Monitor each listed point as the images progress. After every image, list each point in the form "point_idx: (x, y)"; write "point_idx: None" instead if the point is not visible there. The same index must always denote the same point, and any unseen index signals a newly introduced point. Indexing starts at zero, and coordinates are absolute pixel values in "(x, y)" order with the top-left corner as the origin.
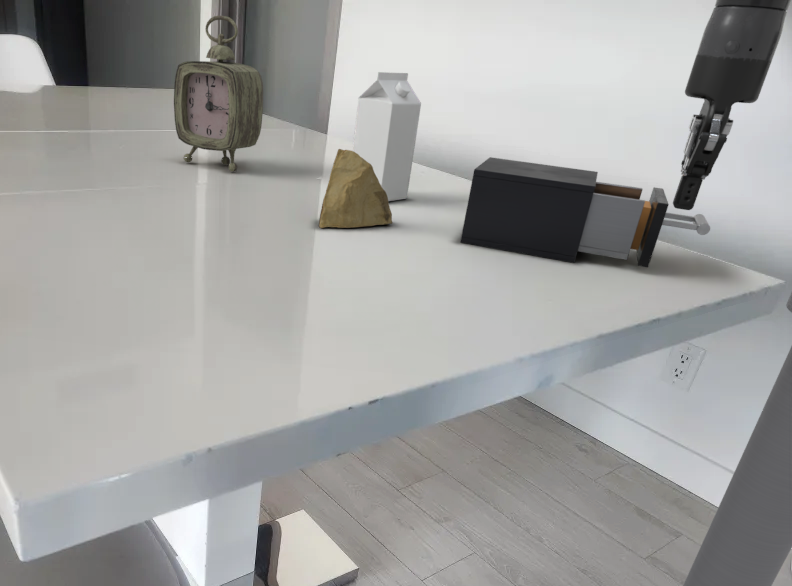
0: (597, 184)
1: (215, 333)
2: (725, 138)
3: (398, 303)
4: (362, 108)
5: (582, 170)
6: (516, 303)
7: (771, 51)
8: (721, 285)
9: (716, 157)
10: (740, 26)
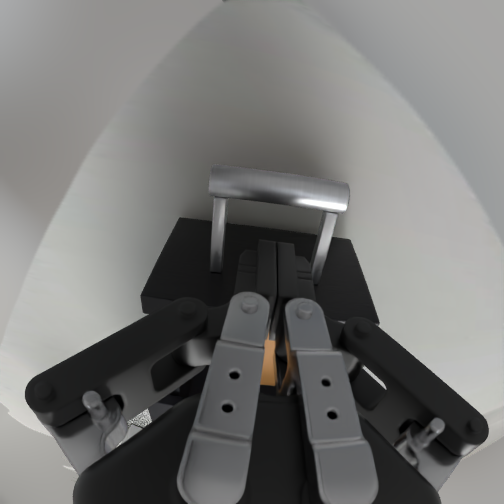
0: (180, 386)
1: (490, 423)
2: (488, 431)
3: (467, 400)
4: None
5: (159, 415)
6: (472, 355)
7: None
8: (356, 106)
9: (433, 376)
10: None
